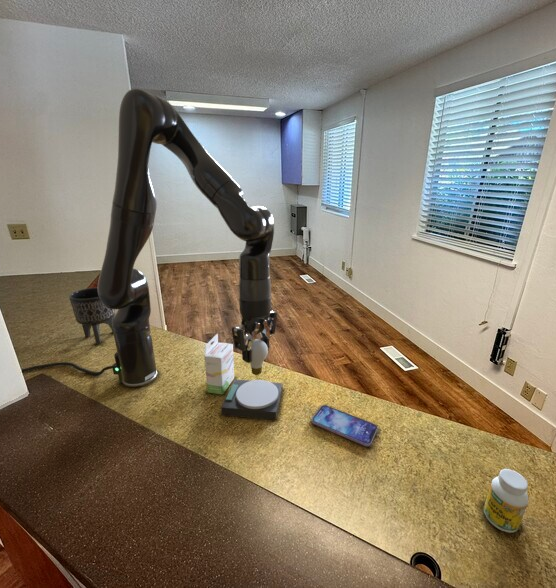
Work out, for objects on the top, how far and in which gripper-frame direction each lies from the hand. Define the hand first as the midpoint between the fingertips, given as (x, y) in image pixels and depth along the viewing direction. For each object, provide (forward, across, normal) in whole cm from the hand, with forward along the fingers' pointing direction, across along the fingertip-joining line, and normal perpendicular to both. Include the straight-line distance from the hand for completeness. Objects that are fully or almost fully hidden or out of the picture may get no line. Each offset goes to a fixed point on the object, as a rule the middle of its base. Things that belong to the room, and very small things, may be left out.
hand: (256, 355), depth 78 cm
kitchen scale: (+14, 0, -1) cm, 14 cm away
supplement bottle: (+15, -3, +56) cm, 58 cm away
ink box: (+15, +1, -13) cm, 20 cm away
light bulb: (+6, 0, 0) cm, 6 cm away
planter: (+15, +9, -71) cm, 73 cm away
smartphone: (+14, -6, +23) cm, 28 cm away
